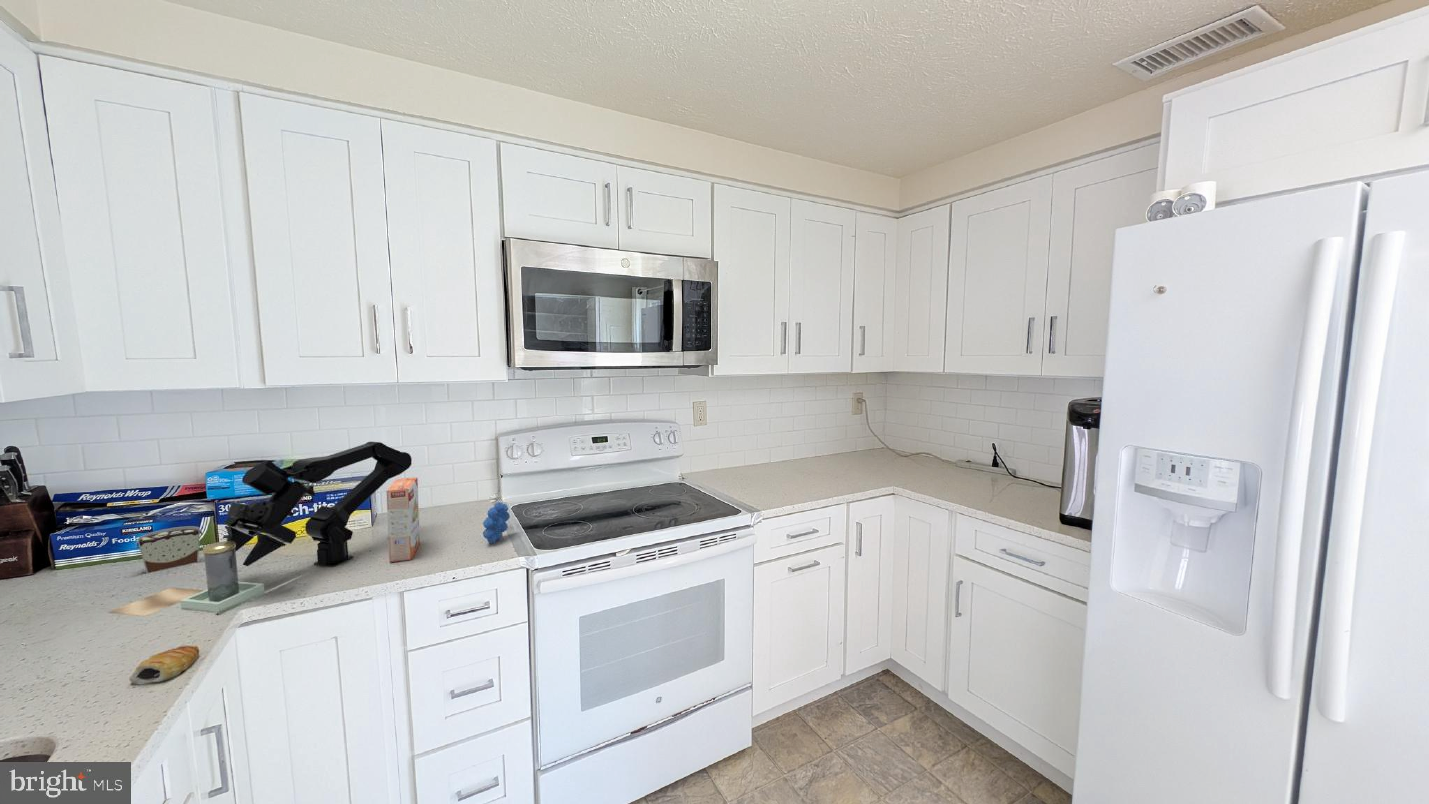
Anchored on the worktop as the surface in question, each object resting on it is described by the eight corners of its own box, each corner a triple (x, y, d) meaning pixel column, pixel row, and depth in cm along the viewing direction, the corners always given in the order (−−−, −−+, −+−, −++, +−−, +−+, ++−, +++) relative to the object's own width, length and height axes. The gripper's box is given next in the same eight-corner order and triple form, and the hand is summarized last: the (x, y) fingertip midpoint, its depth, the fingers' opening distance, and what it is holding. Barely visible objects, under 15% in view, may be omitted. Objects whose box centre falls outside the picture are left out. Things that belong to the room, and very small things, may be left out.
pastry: (172, 656, 98) (170, 637, 98) (212, 653, 100) (211, 634, 99) (125, 687, 89) (123, 667, 89) (170, 684, 90) (168, 664, 90)
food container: (202, 556, 144) (199, 522, 143) (205, 562, 140) (202, 527, 139) (137, 570, 135) (133, 534, 134) (138, 577, 131) (134, 540, 130)
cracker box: (413, 560, 143) (409, 488, 141) (388, 563, 141) (384, 490, 139) (421, 542, 156) (418, 476, 154) (399, 545, 154) (395, 478, 151)
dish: (229, 590, 124) (228, 580, 124) (264, 593, 123) (263, 583, 123) (181, 611, 115) (180, 600, 114) (218, 614, 113) (217, 604, 113)
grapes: (496, 533, 164) (495, 497, 163) (515, 534, 163) (514, 498, 162) (472, 546, 153) (471, 508, 152) (492, 548, 152) (490, 509, 151)
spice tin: (218, 594, 121) (213, 542, 119) (245, 592, 122) (241, 540, 121) (202, 605, 115) (196, 550, 114) (230, 602, 117) (225, 548, 115)
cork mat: (172, 589, 124) (172, 587, 124) (206, 592, 123) (206, 590, 123) (107, 614, 113) (107, 612, 113) (144, 618, 111) (144, 616, 111)
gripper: (229, 483, 126) (175, 542, 117) (276, 491, 120) (223, 555, 111) (269, 504, 134) (222, 561, 125) (315, 513, 128) (269, 573, 119)
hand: (233, 562), depth 120 cm, fingers open, 9 cm apart
